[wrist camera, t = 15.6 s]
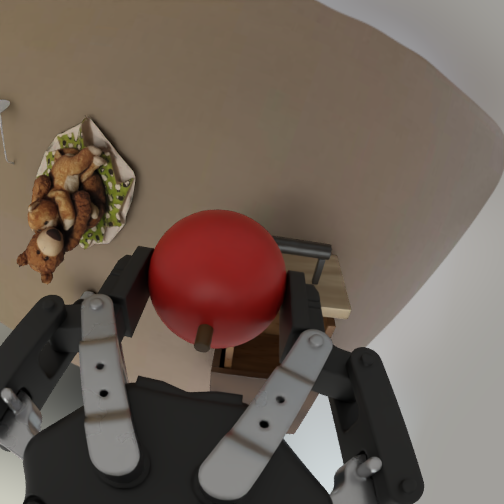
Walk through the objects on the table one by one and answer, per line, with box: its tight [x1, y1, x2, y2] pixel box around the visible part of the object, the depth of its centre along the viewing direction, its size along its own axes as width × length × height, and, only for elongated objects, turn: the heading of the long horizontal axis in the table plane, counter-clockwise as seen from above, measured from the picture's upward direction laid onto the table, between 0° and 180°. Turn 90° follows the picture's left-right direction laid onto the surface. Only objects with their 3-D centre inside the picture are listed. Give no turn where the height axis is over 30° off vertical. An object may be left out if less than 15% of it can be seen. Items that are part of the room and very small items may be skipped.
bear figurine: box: [17, 115, 135, 285], centre depth 27 cm, size 14×15×12 cm
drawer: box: [224, 236, 351, 374], centre depth 33 cm, size 18×11×9 cm, turn 172°
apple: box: [148, 210, 287, 352], centre depth 14 cm, size 6×6×7 cm
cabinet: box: [210, 348, 319, 434], centre depth 41 cm, size 15×13×11 cm
